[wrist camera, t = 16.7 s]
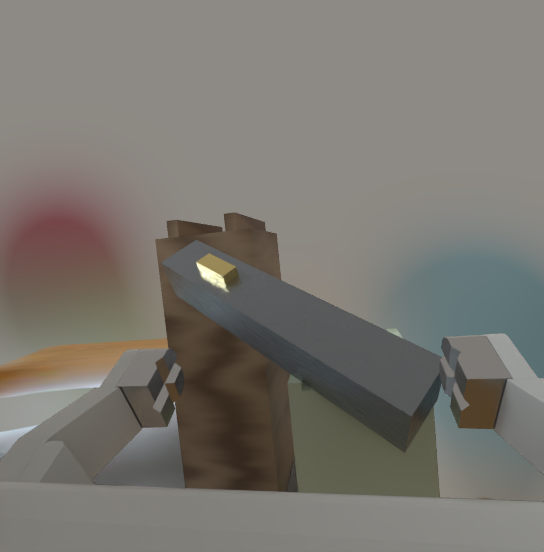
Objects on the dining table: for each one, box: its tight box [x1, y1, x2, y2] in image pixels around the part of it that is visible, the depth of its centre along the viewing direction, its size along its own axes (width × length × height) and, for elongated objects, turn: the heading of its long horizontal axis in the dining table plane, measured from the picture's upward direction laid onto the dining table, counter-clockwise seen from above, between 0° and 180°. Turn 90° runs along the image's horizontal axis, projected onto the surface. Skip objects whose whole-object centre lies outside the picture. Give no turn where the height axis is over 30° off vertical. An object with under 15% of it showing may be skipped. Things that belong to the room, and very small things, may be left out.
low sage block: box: [287, 328, 440, 498], centre depth 26 cm, size 8×12×16 cm, turn 169°
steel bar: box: [161, 240, 442, 453], centre depth 22 cm, size 20×4×4 cm
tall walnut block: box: [156, 213, 294, 492], centre depth 37 cm, size 9×12×28 cm
